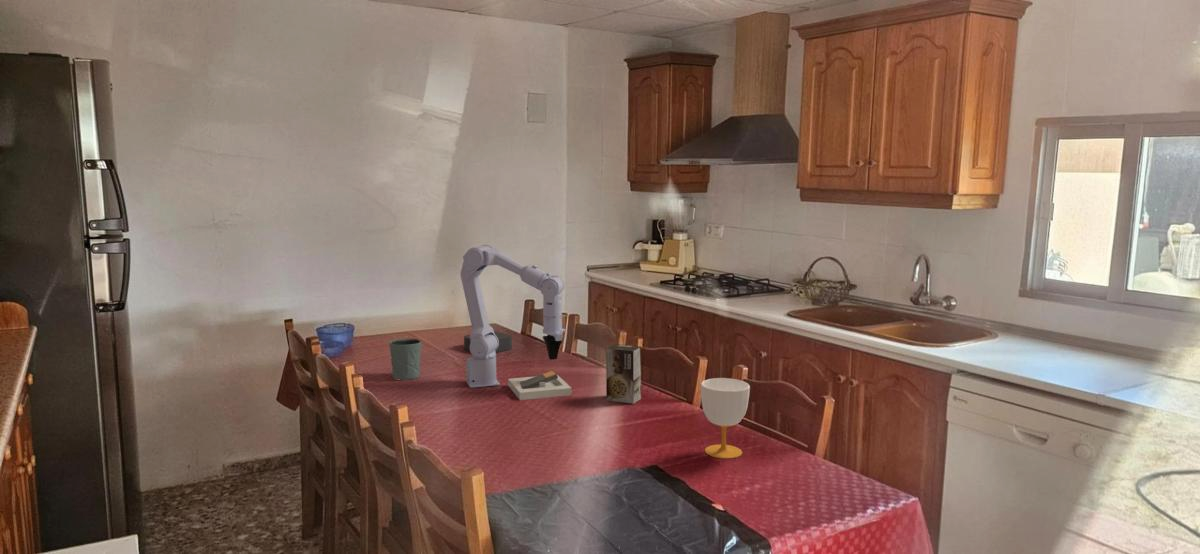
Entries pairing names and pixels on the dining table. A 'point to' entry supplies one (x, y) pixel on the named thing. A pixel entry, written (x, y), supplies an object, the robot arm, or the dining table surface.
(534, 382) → the rocker
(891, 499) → the dining table surface
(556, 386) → the breaker housing
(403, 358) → the green plant pot
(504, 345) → the streaming box
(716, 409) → the cup
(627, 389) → the coffee box
